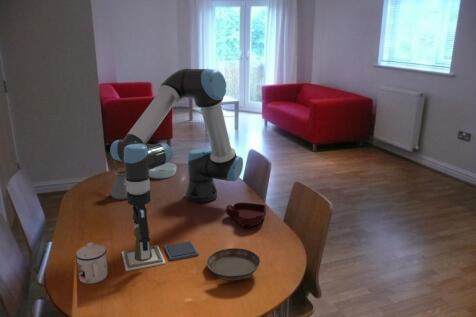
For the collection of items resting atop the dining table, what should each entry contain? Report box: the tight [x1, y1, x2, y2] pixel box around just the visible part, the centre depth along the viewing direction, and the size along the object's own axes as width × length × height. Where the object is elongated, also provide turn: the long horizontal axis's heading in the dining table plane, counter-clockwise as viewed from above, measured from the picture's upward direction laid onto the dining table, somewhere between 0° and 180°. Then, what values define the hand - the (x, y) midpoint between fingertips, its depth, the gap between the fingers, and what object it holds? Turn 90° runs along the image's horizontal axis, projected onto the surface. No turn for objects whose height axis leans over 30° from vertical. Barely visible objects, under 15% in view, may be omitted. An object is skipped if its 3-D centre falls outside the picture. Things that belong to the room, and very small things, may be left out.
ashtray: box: [225, 202, 267, 229], centre depth 174 cm, size 18×16×5 cm
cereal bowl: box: [149, 162, 177, 180], centre depth 228 cm, size 17×17×7 cm
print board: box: [121, 245, 166, 272], centre depth 142 cm, size 13×13×1 cm
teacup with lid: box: [75, 241, 109, 285], centre depth 128 cm, size 12×9×12 cm
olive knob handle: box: [133, 227, 152, 261], centre depth 141 cm, size 6×6×11 cm
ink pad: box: [164, 240, 199, 261], centre depth 147 cm, size 10×10×1 cm
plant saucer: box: [206, 247, 261, 281], centre depth 136 cm, size 18×18×3 cm
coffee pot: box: [109, 160, 127, 201], centre depth 201 cm, size 21×12×15 cm, turn 29°
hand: (142, 249), depth 141 cm, fingers open, 13 cm apart
